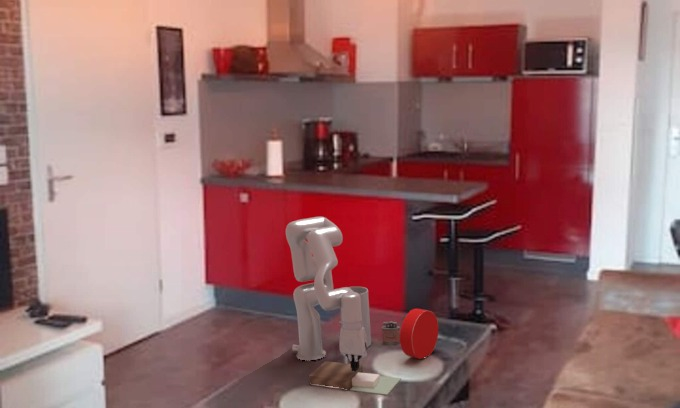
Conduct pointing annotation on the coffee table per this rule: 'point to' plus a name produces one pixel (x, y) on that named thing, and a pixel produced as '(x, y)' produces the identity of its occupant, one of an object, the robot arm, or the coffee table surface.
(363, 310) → the cylinder vase
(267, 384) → the coffee table surface
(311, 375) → the plate
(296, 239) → the robot arm
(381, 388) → the mat
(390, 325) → the lighter
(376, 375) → the tile
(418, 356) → the toy clock
